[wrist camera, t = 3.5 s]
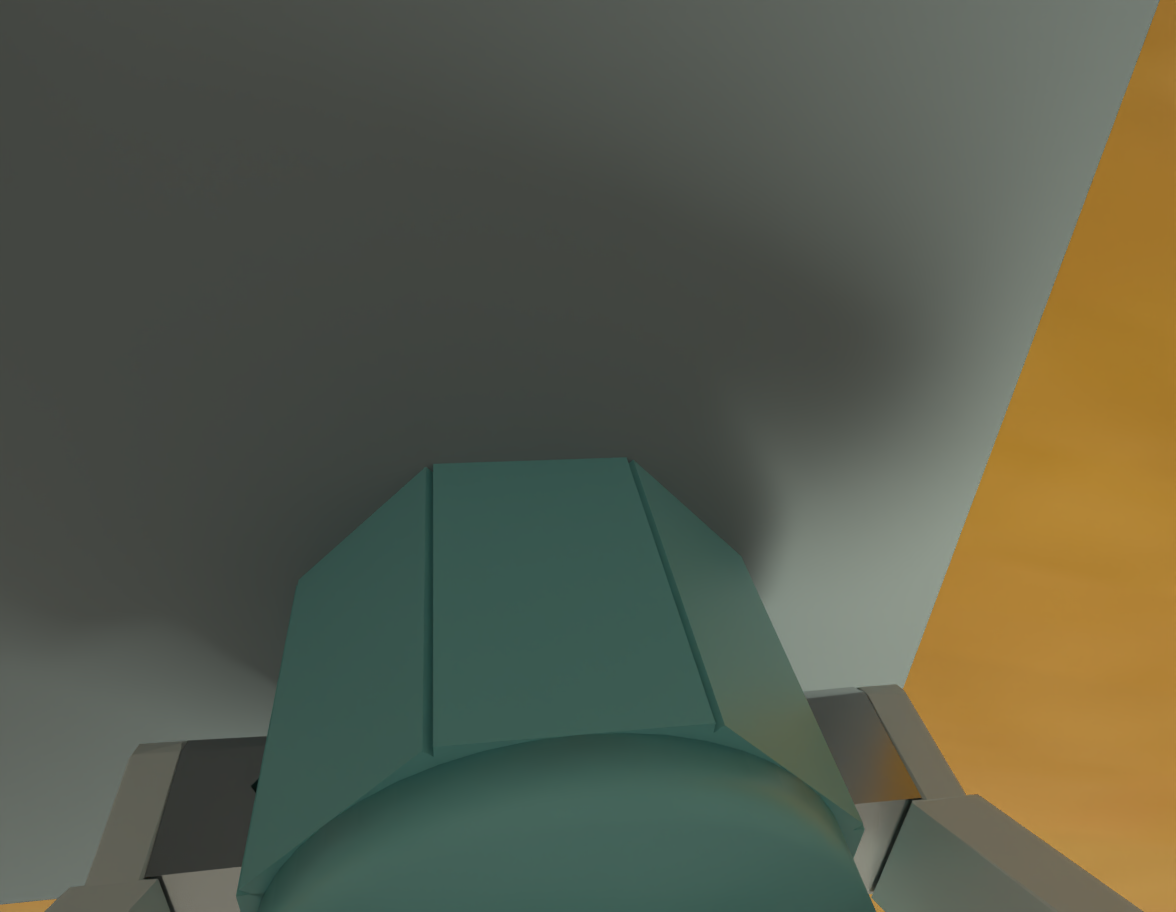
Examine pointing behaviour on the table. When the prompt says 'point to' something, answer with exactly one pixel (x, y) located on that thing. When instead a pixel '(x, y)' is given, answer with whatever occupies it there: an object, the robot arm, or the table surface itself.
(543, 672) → the cap
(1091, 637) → the table surface
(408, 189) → the post board
